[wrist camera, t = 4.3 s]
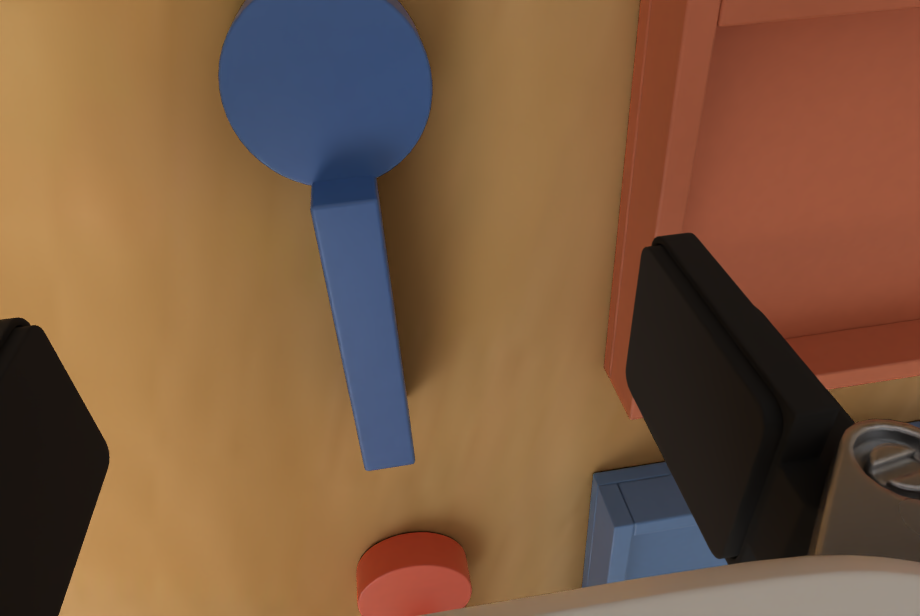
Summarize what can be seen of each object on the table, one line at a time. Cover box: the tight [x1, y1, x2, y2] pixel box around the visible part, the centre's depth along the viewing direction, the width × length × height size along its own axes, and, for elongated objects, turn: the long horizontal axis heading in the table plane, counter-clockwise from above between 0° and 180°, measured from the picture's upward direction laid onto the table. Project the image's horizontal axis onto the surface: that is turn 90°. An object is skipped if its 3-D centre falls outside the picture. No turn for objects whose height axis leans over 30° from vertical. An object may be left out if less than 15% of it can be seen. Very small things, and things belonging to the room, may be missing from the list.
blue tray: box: [582, 421, 920, 588], centre depth 23 cm, size 16×10×2 cm, turn 93°
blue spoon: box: [218, 0, 433, 471], centre depth 14 cm, size 10×4×2 cm, turn 3°
